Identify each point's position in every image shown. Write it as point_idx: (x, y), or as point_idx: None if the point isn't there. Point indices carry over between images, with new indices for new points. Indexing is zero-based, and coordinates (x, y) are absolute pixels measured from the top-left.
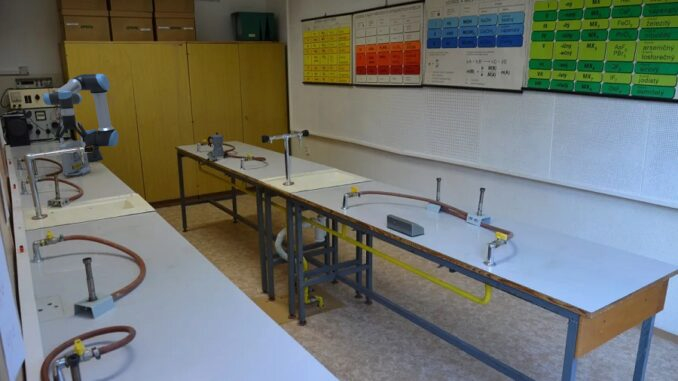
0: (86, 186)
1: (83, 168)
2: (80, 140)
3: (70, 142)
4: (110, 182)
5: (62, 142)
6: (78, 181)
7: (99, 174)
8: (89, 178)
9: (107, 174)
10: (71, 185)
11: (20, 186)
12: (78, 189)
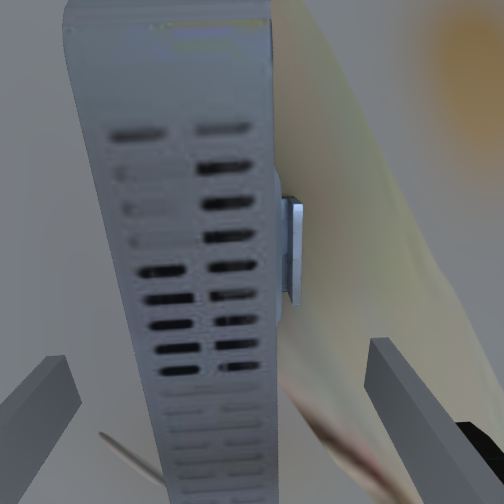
0: (402, 463)
1: (300, 291)
2: (251, 231)
3: (192, 484)
4: (482, 416)
5: (11, 481)
6: (332, 398)
7: (377, 260)
8: (359, 348)
9: (426, 263)
10: (335, 451)
11: (126, 460)
12: (389, 493)
